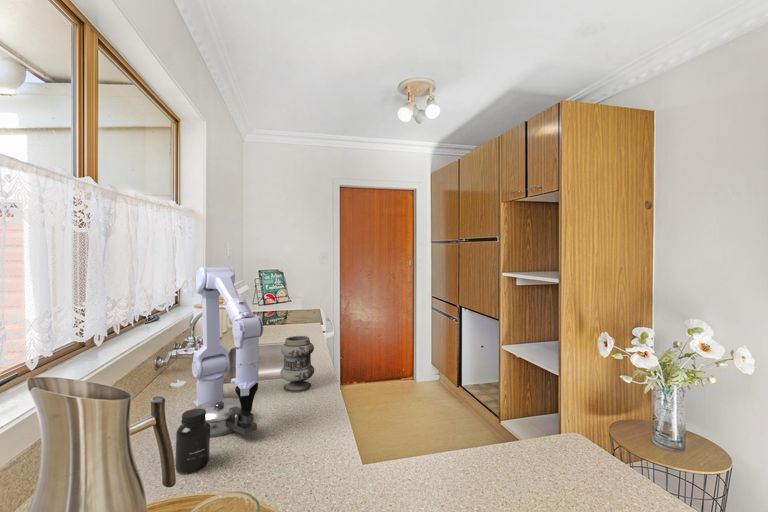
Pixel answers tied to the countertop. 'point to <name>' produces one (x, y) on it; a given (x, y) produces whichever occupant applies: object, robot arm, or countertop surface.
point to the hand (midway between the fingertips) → (246, 412)
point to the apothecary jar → (297, 363)
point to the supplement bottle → (192, 442)
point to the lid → (225, 410)
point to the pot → (231, 427)
